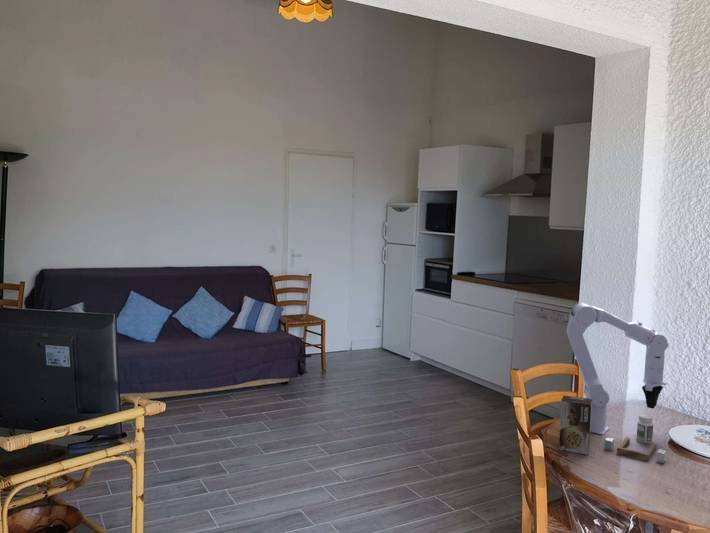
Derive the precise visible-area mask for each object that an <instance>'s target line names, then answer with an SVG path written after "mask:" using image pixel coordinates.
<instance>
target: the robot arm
mask: <svg viewBox="0 0 710 533" xmlns="http://www.w3.org/2000/svg"><path fill="white" fill-rule="evenodd" d="M603 322H604V323H606V324H609V325H610V326H612V327H615V328H617V329H619V330H622V331H623V332H624V334H625V336H626V338H627V337H628V339H631V340H633V341H635V342H637V343H639V344H641V345H644V346H645V347H646V350H645V358H644V359H645V360H644V374H643V379H642V382H643V384H644V385H642V387H641V389H642V392H643V393H644V397H645V404H646V407H647V408H648V409H649V408H650V409H655V407H656V406H657V404H658V401H659V400H658V399H659V397H660V393H662V391H663V389H664V386H667V384H668V383H667V381H664V369H665V352H666V350H667V349H668V348H669V343H668V338H666V336H665V335H662V334H661V333H659V332H657V331H656V330H655V329H654V328H649V327H647V326H645V325H643V323H642V322H640V321H637V322H636V321H630V322H628V321H626V320H624V319H622V318H619V317H618V316H616V315H614V314H612V313H610V312H608V311H606V310H605V309H602V308H599V307H597V306H594V305H589V304H587V303H586V302H577V303H576V304H575V305H573V307H572V308H571V310H569V318H568V322H567V325H566V335H567V338H568V341H569V342H570V346H571V348H572V352H573V354H574V357H575V359H576V360H575V361H576V362H577V365H578V367H579V370H580V374H581V376H582V382H583V386H584V387H583V393H584V396H586V399H592V417H591V433H592V434H593V433H594V434H598V435H601V436H604V435H605V434H606V432H608V430H609V429H610V427H609V426H607V411H608V403H609V402H610V395H609V393H608V391H606V389H605V388H604V387H603V384H602V382H601V379H599V377H598V374H597V371H596V367H595V365H594V362H593V360H592V357H591V354H590V351H589V349H588V345H587V343H586V339H585V336H584V335H583V334H584V333H585V331H586V330H587V328H589V327H590V326H591V325H592V324H594V323H596V324H597V323H603Z"/></svg>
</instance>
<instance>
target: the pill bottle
mask: <svg viewBox="0 0 710 533" xmlns="http://www.w3.org/2000/svg"><path fill="white" fill-rule="evenodd" d="M653 419H654V418H653V416H652V415H648V414H639V415H638V421H637V425H636V441H638V442H639V443H643V444H650V443H652V442H653V436H654V423H653Z"/></svg>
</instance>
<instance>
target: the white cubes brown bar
mask: <svg viewBox="0 0 710 533" xmlns="http://www.w3.org/2000/svg"><path fill="white" fill-rule="evenodd" d="M630 440H631V438H630V437H625V439H624V440H623V441H622V442H621V444H619V446H617V447H616V455H620V456H624V457H629V458H632V459H637V460H640V461H644V462H649V461H650V459H651V458H652V457H653V455H654V453H655V451H656V450H657V451H656V460H655V462H656V463H660V464H664V463H666V460H667V459H666V458H667V450H665V449H660V448H659V449H657V443H652V445H651V446H650V448H649V449H648V451H647V452H643V451H638V450H633V449H629V448H626V447H627V446H628V445H629V443H630ZM614 442H615V438H612V437H609V436H608V437H606V438H605V439H604V448H603V449H604V450H607V451H612V450H613V449H614V447H615V446H614V444H615V443H614Z"/></svg>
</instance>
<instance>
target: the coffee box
mask: <svg viewBox="0 0 710 533" xmlns="http://www.w3.org/2000/svg"><path fill="white" fill-rule="evenodd" d="M586 398H587V397H586ZM586 398H585V397H579V396H570V395H563V396H562V398H561V401H560V415H559V416H560V417H559V418H560V421H559V435H558V436H559V438H558V439H559V440H558V450H559V449H561V450H560V451H563V450H566V451H565V452H569V451H571V453H575V454H576V453H577V454H580V453H581V454H580V455H587V456H588V455H590V452H591V451H590V450H591V433H592V432H591V417H592V399H586Z"/></svg>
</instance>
